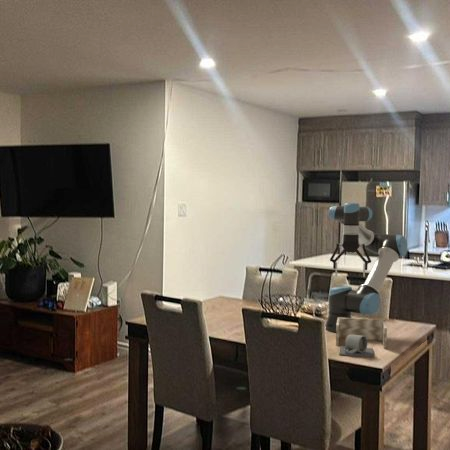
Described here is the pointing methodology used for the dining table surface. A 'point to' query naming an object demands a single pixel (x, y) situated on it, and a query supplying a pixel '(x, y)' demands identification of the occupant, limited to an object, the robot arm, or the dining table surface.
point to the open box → (361, 329)
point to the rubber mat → (357, 353)
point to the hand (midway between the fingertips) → (350, 276)
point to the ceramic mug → (355, 343)
